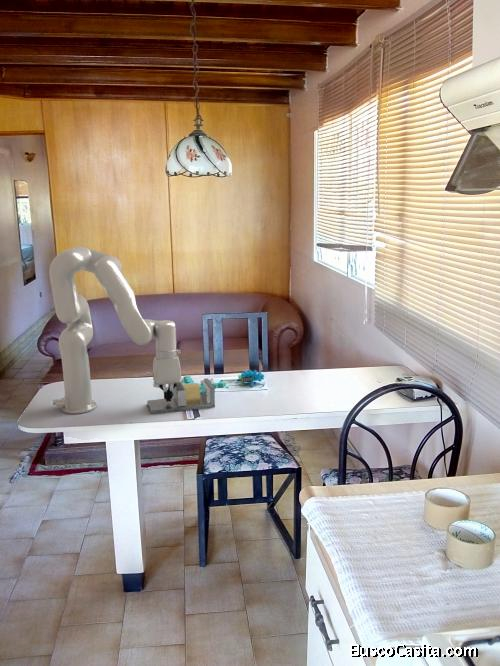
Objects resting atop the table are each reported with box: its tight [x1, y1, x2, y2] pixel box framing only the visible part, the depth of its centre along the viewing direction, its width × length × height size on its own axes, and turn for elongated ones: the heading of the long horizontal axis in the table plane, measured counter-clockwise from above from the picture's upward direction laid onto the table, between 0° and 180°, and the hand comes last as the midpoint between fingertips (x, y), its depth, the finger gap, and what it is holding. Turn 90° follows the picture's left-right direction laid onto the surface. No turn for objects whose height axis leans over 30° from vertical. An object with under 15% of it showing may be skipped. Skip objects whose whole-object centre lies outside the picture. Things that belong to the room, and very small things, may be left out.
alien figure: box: [167, 375, 227, 397], centre depth 231 cm, size 20×2×20 cm
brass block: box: [183, 382, 200, 403], centre depth 213 cm, size 6×4×6 cm, turn 108°
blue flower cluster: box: [238, 369, 265, 387], centre depth 235 cm, size 11×6×10 cm
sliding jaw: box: [173, 384, 186, 407], centre depth 212 cm, size 3×10×7 cm, turn 17°
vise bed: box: [146, 377, 216, 415], centre depth 212 cm, size 24×11×8 cm, turn 108°
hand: (168, 400), depth 211 cm, fingers closed
